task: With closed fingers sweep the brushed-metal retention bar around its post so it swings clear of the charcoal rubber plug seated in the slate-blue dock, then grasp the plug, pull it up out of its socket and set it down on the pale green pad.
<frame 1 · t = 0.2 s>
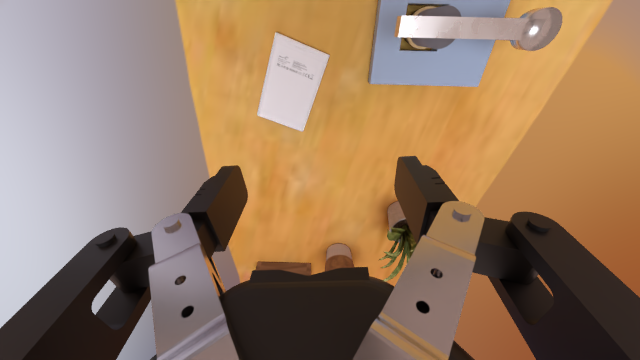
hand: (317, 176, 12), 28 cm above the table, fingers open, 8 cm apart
coaster tray: (285, 278, 64), on the table
external hard drive: (292, 85, 37), on the table
house plant: (392, 209, 50), on the table
coffee cup: (338, 250, 58), on the table
clip: (475, 28, 23), point 10 cm above the table, hinge at 0.0°
plug: (417, 28, 32), resting in dock
dock: (432, 28, 32), on the table
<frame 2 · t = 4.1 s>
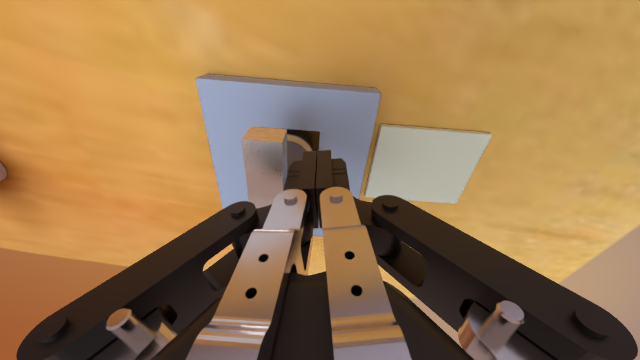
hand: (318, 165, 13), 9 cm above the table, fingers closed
clip: (272, 246, 15), point 10 cm above the table, hinge at 0.1°, touching gripper
pad: (420, 165, 23), on the table
plug: (291, 146, 22), resting in dock
dock: (291, 164, 23), on the table
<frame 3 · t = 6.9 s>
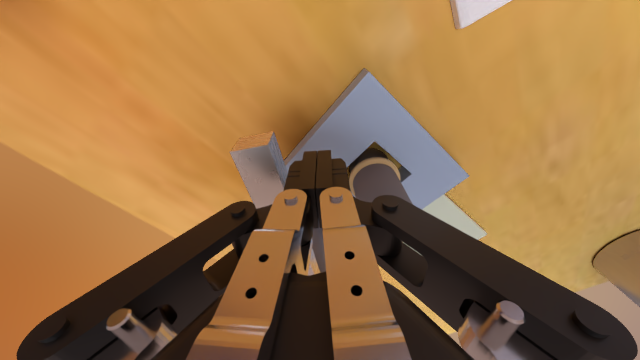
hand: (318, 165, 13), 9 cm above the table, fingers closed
clip: (295, 249, 15), point 10 cm above the table, hinge at 51.8°, touching gripper
pad: (434, 229, 28), on the table
plug: (368, 166, 23), resting in dock
dock: (354, 178, 24), on the table
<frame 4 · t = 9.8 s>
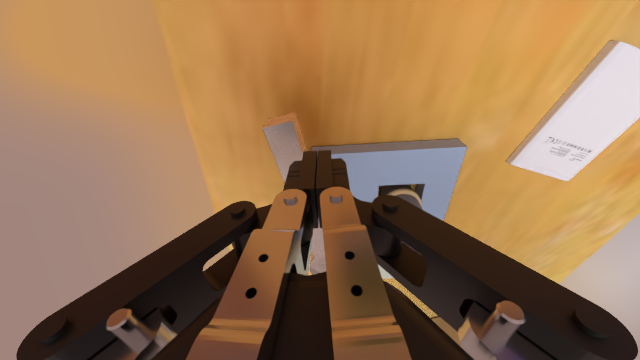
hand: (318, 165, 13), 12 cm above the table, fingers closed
external hard drive: (575, 118, 24), on the table
clip: (313, 214, 18), point 10 cm above the table, hinge at 99.7°
plug: (394, 191, 29), resting in dock
dock: (379, 192, 29), on the table
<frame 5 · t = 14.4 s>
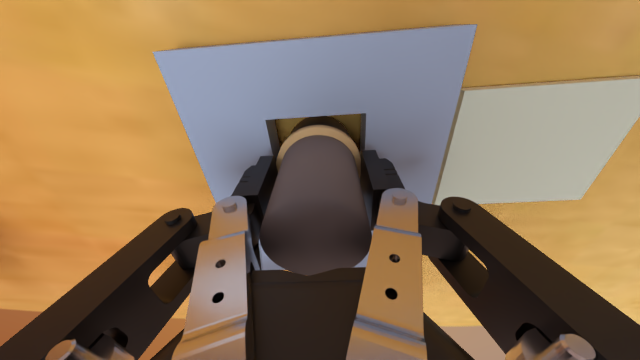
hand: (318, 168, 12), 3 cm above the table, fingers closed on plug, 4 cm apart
pad: (523, 148, 15), on the table
plug: (319, 145, 15), resting in dock, touching gripper
dock: (321, 172, 16), on the table
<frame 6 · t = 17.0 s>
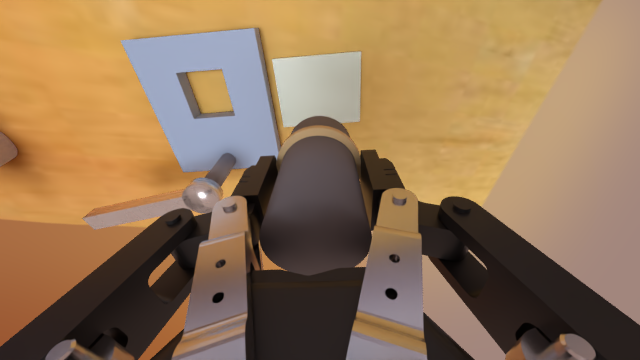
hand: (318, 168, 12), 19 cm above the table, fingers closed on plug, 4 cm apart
clip: (153, 206, 25), point 10 cm above the table, hinge at 99.7°
pad: (319, 91, 28), on the table
plug: (319, 146, 15), point 16 cm above the table, touching gripper
dock: (218, 107, 29), on the table
when the fingers open (4 cm above the table, at t = 19.8 s): plug stays where it is, resting on pad.
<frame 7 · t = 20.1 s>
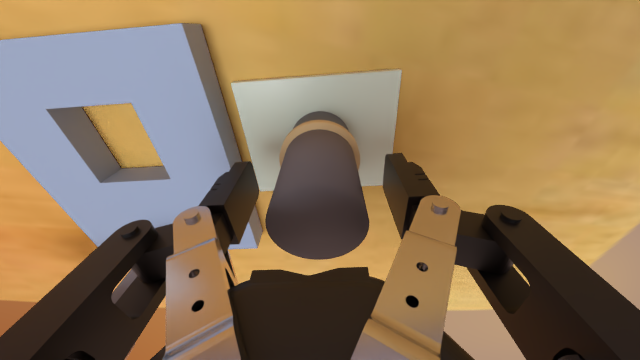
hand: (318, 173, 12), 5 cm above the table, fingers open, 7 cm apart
pad: (319, 136, 16), on the table
plug: (320, 140, 15), point 1 cm above the table, touching pad
dock: (149, 159, 17), on the table
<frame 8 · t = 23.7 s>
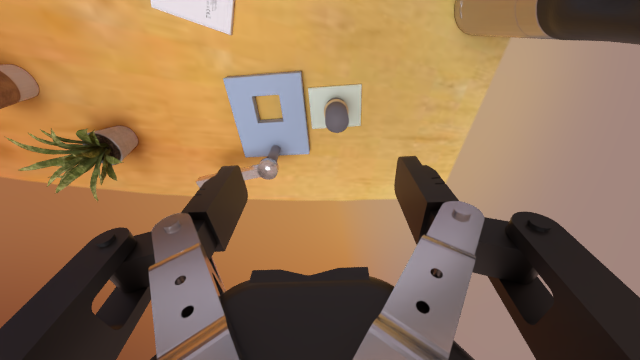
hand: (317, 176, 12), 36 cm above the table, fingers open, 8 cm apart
house plant: (122, 130, 49), on the table
coffee cup: (22, 81, 44), on the table
clip: (237, 175, 43), point 10 cm above the table, hinge at 99.7°
pad: (335, 107, 46), on the table
plug: (335, 107, 45), point 1 cm above the table, touching pad
dock: (272, 116, 47), on the table
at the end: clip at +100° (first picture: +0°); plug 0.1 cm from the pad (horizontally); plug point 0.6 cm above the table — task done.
